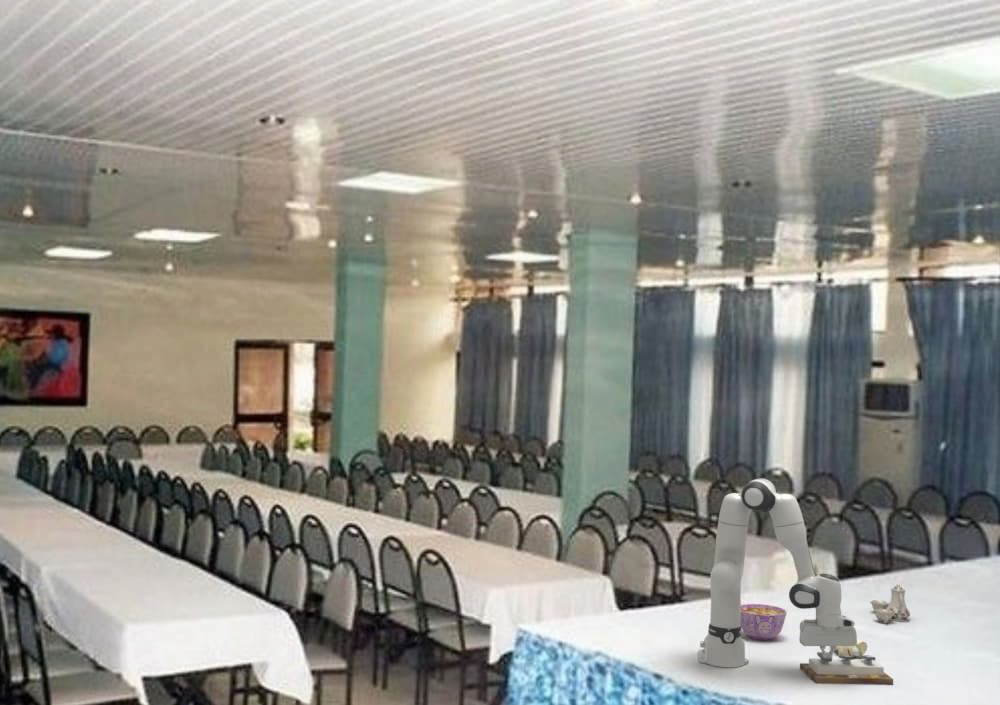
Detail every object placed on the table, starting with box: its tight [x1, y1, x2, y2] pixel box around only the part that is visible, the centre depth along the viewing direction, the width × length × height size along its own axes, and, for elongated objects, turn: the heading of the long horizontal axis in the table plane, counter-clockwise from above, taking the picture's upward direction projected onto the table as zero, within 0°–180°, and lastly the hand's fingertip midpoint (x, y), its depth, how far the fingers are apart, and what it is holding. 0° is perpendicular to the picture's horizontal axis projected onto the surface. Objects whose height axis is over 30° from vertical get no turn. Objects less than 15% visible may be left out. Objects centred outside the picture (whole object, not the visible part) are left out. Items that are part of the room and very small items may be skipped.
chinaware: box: [870, 583, 911, 624], centre depth 499 cm, size 28×17×17 cm, turn 171°
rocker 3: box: [859, 654, 876, 661], centre depth 407 cm, size 7×3×1 cm, turn 3°
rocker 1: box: [816, 651, 833, 662], centre depth 406 cm, size 7×3×1 cm, turn 3°
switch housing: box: [808, 657, 884, 676], centre depth 407 cm, size 10×24×4 cm, turn 93°
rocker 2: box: [838, 654, 855, 660], centre depth 407 cm, size 7×3×1 cm, turn 3°
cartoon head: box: [835, 637, 868, 657], centre depth 436 cm, size 9×10×20 cm
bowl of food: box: [740, 603, 787, 641], centre depth 459 cm, size 20×20×12 cm
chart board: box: [799, 662, 894, 686], centre depth 407 cm, size 18×28×2 cm, turn 93°
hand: (827, 658), depth 404 cm, fingers closed, pressing on rocker 1
